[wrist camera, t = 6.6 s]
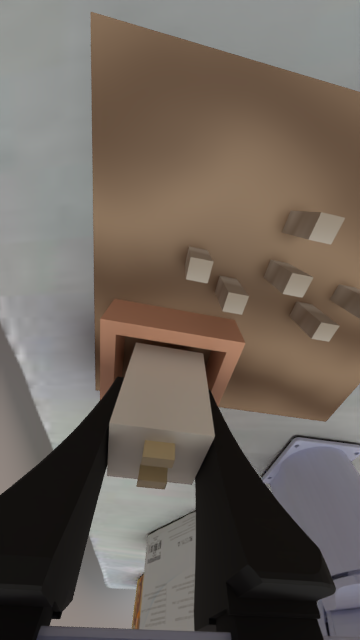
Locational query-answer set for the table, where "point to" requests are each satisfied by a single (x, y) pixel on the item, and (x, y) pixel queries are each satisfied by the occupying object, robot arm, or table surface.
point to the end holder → (168, 339)
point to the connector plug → (161, 418)
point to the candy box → (138, 604)
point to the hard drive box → (170, 577)
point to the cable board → (230, 210)
